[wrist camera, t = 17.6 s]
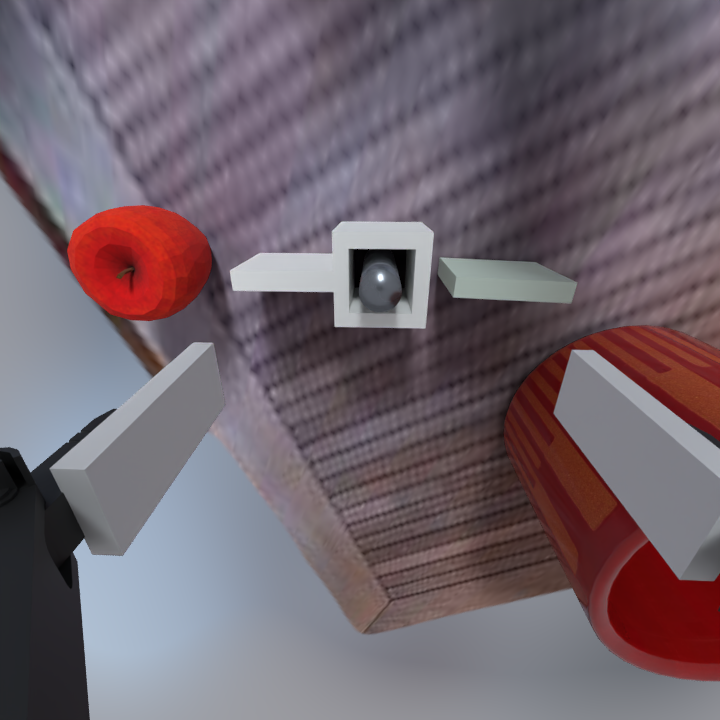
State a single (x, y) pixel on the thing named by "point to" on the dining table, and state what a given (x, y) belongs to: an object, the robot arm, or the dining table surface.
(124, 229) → the apple
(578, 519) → the planter
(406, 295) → the fixed hinge
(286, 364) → the dining table surface
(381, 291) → the pin
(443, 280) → the loose leaf
